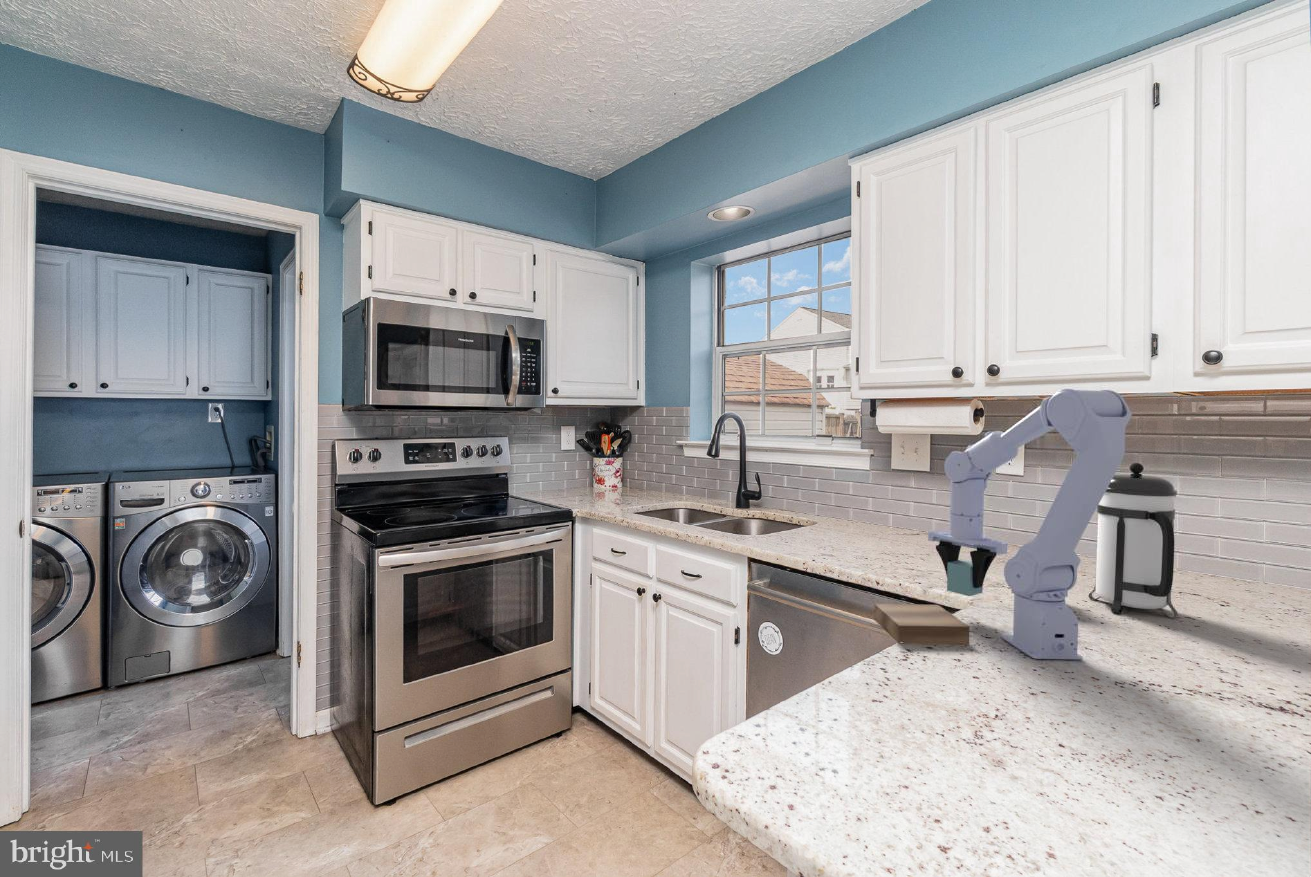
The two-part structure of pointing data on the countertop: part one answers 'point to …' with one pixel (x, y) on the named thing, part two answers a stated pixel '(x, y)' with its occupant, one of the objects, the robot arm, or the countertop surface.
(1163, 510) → the coffee press
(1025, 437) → the robot arm
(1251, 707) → the countertop surface
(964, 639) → the walnut box
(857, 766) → the countertop surface
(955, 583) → the teal block
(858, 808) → the countertop surface
